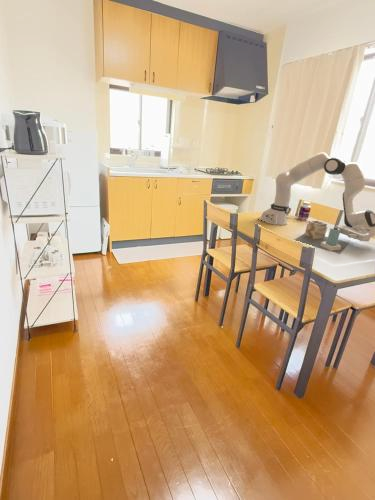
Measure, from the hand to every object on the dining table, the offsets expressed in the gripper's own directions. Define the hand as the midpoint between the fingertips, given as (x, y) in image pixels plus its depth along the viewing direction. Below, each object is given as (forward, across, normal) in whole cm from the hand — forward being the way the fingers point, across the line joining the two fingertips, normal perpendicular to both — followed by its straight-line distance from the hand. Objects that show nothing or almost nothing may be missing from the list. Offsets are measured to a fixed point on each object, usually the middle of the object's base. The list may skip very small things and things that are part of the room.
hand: (342, 233), depth 169 cm
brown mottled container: (0, -20, +9) cm, 21 cm away
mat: (+4, -10, +10) cm, 14 cm away
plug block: (+7, 0, +9) cm, 11 cm away
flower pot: (-16, -70, +10) cm, 72 cm away
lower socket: (+7, 0, +9) cm, 11 cm away
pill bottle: (-27, -59, +10) cm, 66 cm away
